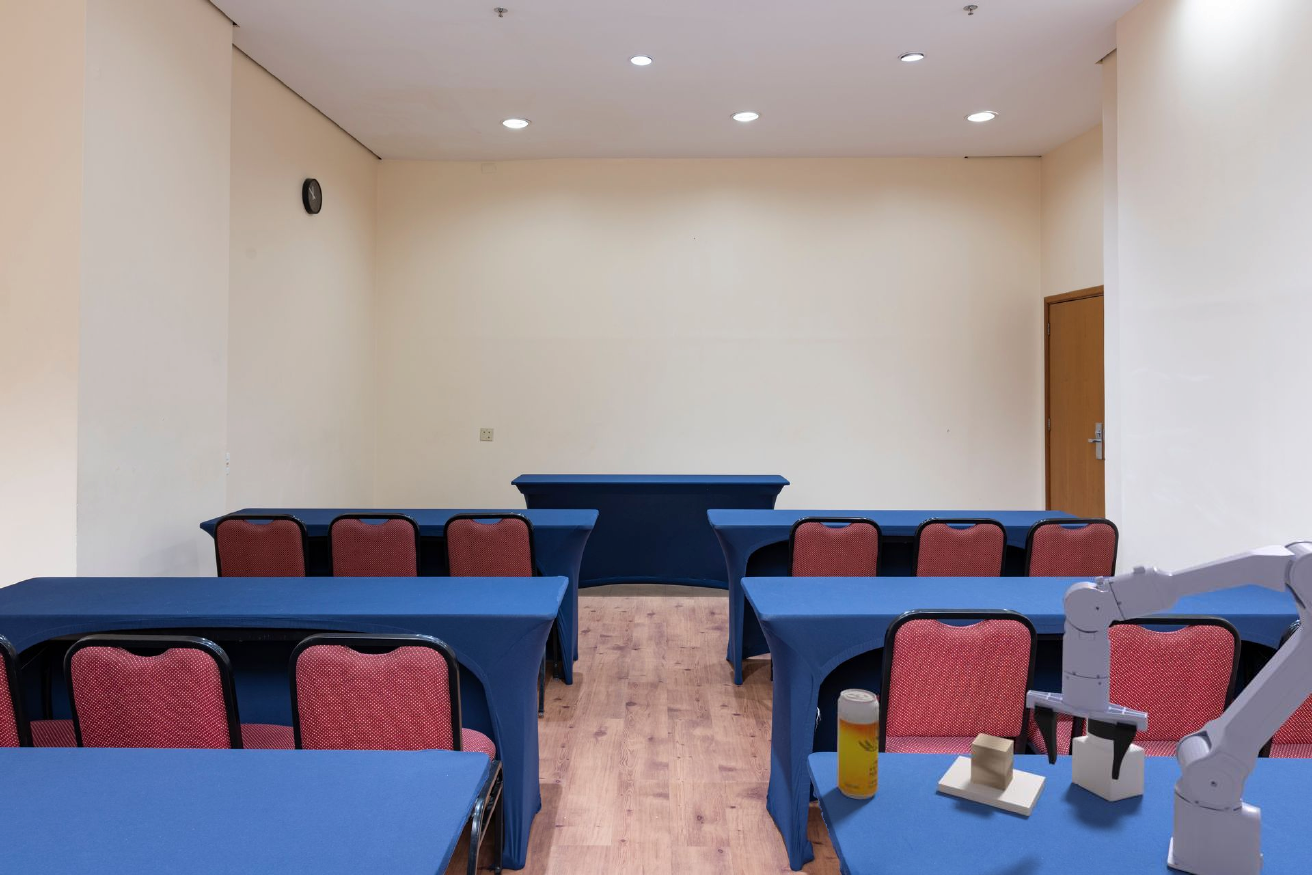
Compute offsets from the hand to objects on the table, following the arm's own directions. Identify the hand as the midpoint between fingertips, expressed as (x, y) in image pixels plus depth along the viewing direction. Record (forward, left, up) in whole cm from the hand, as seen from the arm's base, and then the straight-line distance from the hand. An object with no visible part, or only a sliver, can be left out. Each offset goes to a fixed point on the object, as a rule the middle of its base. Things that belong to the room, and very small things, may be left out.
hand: (1083, 769), depth 110 cm
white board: (+14, -8, -9) cm, 18 cm away
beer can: (+30, +6, -10) cm, 32 cm away
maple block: (+14, -7, -8) cm, 17 cm away
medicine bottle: (-1, -18, -10) cm, 20 cm away
